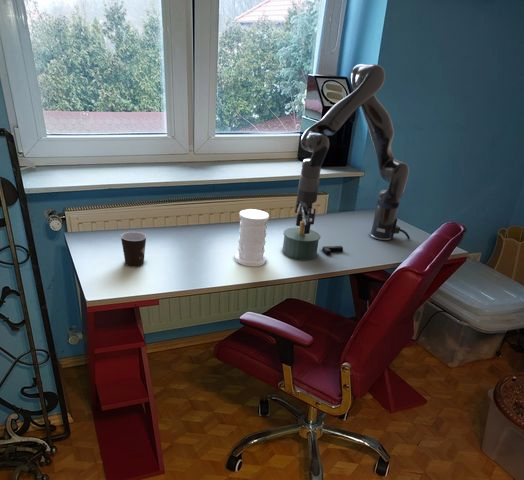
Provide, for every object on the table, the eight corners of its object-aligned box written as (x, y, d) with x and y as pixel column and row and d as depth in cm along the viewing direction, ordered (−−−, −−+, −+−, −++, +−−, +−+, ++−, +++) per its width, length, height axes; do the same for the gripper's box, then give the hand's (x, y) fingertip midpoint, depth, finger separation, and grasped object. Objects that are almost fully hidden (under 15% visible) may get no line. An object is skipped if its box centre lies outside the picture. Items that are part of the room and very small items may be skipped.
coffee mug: (135, 270, 185) (134, 242, 180) (117, 262, 189) (115, 236, 183) (157, 260, 194) (157, 234, 188) (139, 253, 197) (139, 228, 192)
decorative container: (230, 255, 204) (233, 209, 195) (258, 253, 209) (262, 208, 199) (241, 267, 196) (245, 220, 186) (270, 264, 200) (275, 218, 190)
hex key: (340, 250, 220) (341, 245, 219) (345, 254, 216) (346, 250, 215) (321, 250, 217) (322, 246, 216) (326, 255, 214) (327, 250, 213)
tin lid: (311, 229, 217) (313, 215, 214) (325, 243, 205) (328, 228, 202) (278, 230, 213) (279, 215, 209) (290, 244, 201) (292, 228, 198)
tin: (308, 246, 220) (311, 228, 216) (321, 259, 209) (324, 241, 205) (277, 247, 216) (280, 229, 212) (289, 260, 205) (291, 242, 201)
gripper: (324, 194, 194) (318, 236, 203) (310, 182, 205) (304, 223, 214) (305, 193, 192) (299, 236, 201) (292, 182, 203) (287, 223, 212)
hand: (302, 229), depth 207 cm, fingers open, 8 cm apart
